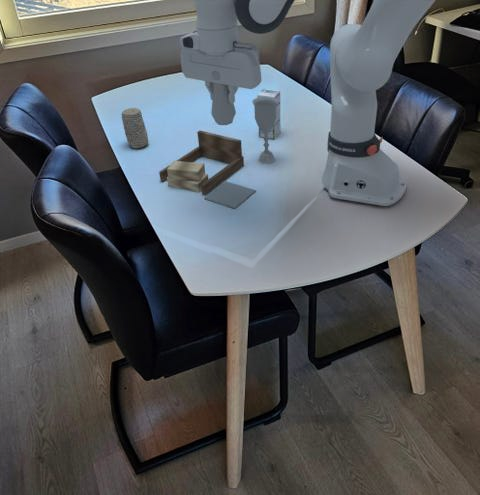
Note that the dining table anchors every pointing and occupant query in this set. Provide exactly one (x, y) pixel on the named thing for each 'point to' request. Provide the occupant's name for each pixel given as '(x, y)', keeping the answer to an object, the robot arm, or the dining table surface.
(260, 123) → the chalice
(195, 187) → the offcut lower
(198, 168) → the offcut upper
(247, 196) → the slate mat
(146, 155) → the dining table surface
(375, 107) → the robot arm
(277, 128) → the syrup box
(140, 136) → the carving
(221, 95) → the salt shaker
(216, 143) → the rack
